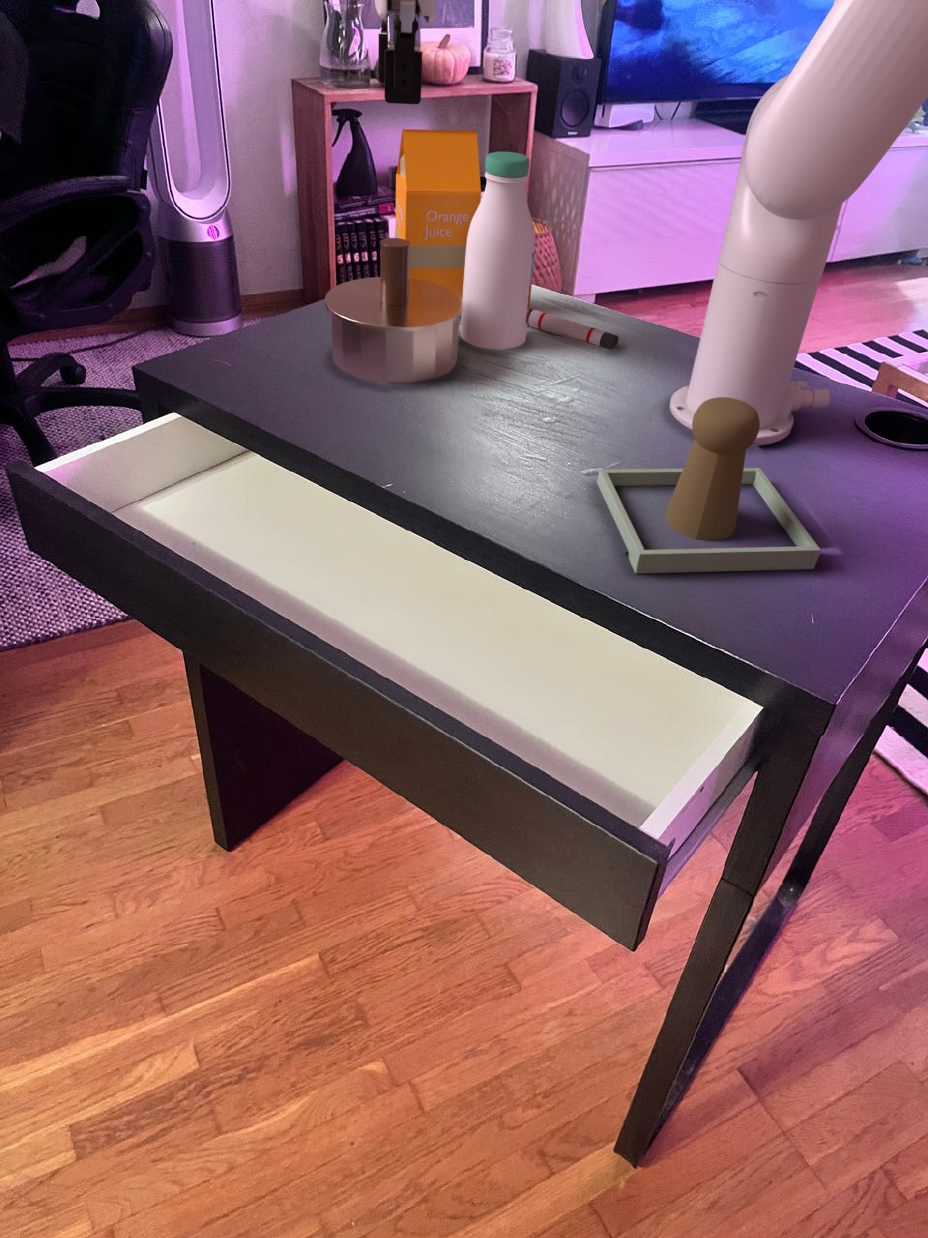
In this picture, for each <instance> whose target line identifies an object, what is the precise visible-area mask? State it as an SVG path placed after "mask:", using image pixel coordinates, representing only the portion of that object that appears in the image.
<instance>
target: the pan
mask: <svg viewBox="0 0 928 1238" xmlns="http://www.w3.org/2000/svg"><path fill="white" fill-rule="evenodd" d="M330 315H331V345H332V346H331V347H332V348H331V349H332V351H331V352H332V362H333V364H335V365H336V366H337V367H338V368H339V369H340V370H341V371H342V372H344V373H347V374H349V375H351V376H354V377H356V378H359V379H362V380H366V381H372V382H377V383H383V384H417V383H420V382H421V383H422V382H426V381H433V380H436V379H438V378H440V377H442V376H444V375H447V374H448V373H450V372H451V371H452V370H453V369H454V367H455V366H456V365H457V363H458V349H459V331H460V317H459V318H458V319H456V320H455V321H453V322H451V323H449V324H447V325H444V326H441V327H438V328H434V329H428V330H421V331H410V332H394V331H380V330H373V329H367V328H362V327H358V326H355V325H352V324H349V323H346V322H344V321H341V320H339V319H337V318H336V317H334V316H333V315H332V314H330Z"/></svg>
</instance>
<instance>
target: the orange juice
mask: <svg viewBox="0 0 928 1238" xmlns="http://www.w3.org/2000/svg"><path fill="white" fill-rule="evenodd" d="M478 142H479V141H478V130H459V129H457V130H456V129H455V130H454V129H417V128H416V129H415V128H414V129H413V128H412V129H411V128H410V129H409V128H402V130H401V136H400V144H399V145H400V146H399V154H398V159H397V160H398V161H397V166H396V167H397V168H396V173H395V224H394V225H395V226H394V238H401V239H405V240H407V241H409V242H410V261H409V278H410V279H417V280H422V281H427V282H431V283H434V284H438V285H440V286H443V287H445V288H447V289H450V290H451V291H453V292H455V293H456V294H457V295H458V296H459V297H460V298H461V300H462V301H463V284H464V269H465V255H466V245H467V237H468V231H469V227H470V224H471V221H472V219H473V217H474V214H475V212H476V210H477V208H478V206H479V204H480V202H481V200H482V189H481V187H482V186H481V173H480V158H479V143H478ZM461 317H462V314H461V316H460V317H459V318H461Z"/></svg>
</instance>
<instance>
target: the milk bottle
mask: <svg viewBox="0 0 928 1238" xmlns="http://www.w3.org/2000/svg"><path fill="white" fill-rule="evenodd" d="M530 163H531V162H530V158H529V156H528V155H525V154H522V153H520V152H519V153H518V152H513V151H494V152H489V153H488V154H487V155H486V157H485V165H484V169H485V174H484V177H485V179H486V182H485V183H486V184H485V189H484V192H483V194H482V196H481V202H480V204H479V206H478V208H477V210H476V212H475V214H474V217H473V219H472V221H471V224H470V227H469V231H468V237H467V245H466V255H465V269H464V284H463V301H462V302H463V312H462V317H460V318H461V321H460V337H461V338H462V340H463V341H464V342H466V343H467V344H469V345H471V346H474V347H477V348H481V349H487V350H496V351H497V350H498V351H500V350H511V349H514V348H518V347H521V346H522V345H523V344H525V342H526V340H527V332H528V325H527V324H528V315H529V308H530V303H531V297H532V296H531V295H532V287H533V285H532V284H533V274H534V264H535V251H536V231H535V227H534V222H533V218H532V215H531V213H530V208H529V205H528V201H527V194H526V182H527V181H528V180H529V177H528V176H529V175H528V174H529V173H530V172H529V171H530Z"/></svg>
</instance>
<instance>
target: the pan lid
mask: <svg viewBox="0 0 928 1238" xmlns="http://www.w3.org/2000/svg"><path fill="white" fill-rule="evenodd" d="M409 261H410V242H409V241H407V240H405V239H401V238H395V237H388V238H387V237H386V238H383V239H381V240H380V267H379V268H380V276H375V277H373V276H372V277H364V278H358V279H353V280H349V281H345V282H342V283H340V284H337V285H335V286H334V287H332V288H330V289H329V291H328V292H326V294H325V296H324V306H325V309H326V310H327V312H328V313H329V314H330V315H331V314H332V315H333V316H334V317H336V318H337V319H339V320H341V321H344V322H346V323H349V324H352V325H355V326H358V327H362V328H367V329H373V330H380V331H394V332H410V331H421V330H428V329H434V328H438V327H441V326H444V325H447V324H449V323H451V322H453V321H455V320H456V319H458V318H459V319H460V318H461V317H460V316H461V314H462V312H463V302H462V300H461V298H460V297H459V296H458V295H457V294H456V293H455V292H453V291H451V290H450V289H447V288H445V287H443V286H440V285H438V284H434V283H431V282H427V281H422V280H417V279H410V278H409Z"/></svg>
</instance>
